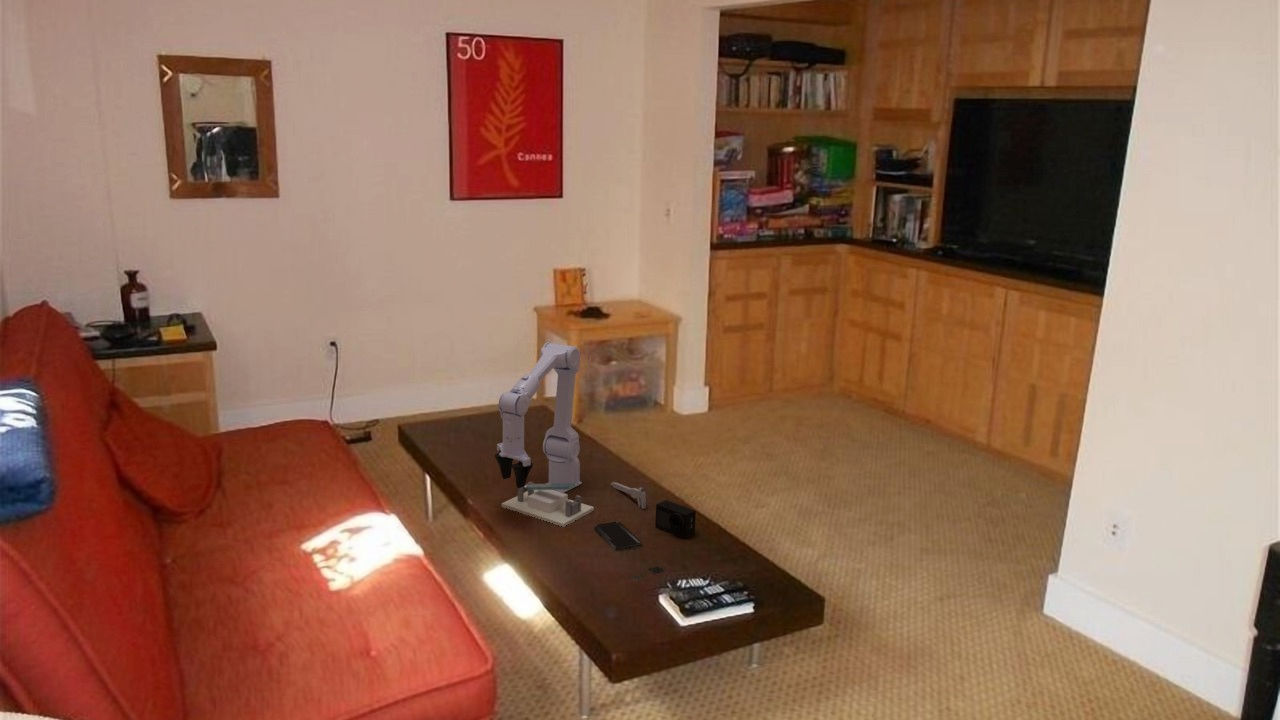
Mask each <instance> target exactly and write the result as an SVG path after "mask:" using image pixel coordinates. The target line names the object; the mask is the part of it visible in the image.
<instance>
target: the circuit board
mask: <svg viewBox="0 0 1280 720" xmlns="http://www.w3.org/2000/svg"><path fill="white" fill-rule="evenodd" d="M647 570H648V571H649V572H651V573H652V574H654V575H657V574H660V573H663V572H665V570H664V569H662V567H660V566H658V565H657V566H653V567H650V568H647ZM630 577H631V578H633V580H639V579H642V576H640V575H639V574H634V575H631V576H630Z"/></svg>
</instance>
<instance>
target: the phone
mask: <svg viewBox="0 0 1280 720" xmlns="http://www.w3.org/2000/svg"><path fill="white" fill-rule="evenodd" d="M594 531H595V532H596V533H598V535H599V536H600V537H601V538H602V539H603V540H604V541H605V542H606V543H607V544H608V545H609V546H610V547H611V548H612V549H613V550H614V551H617V552H623V551H626V550H631V549H637V548H641V547H642V546H643V545H642V544H643V541H641V540H640V539H639V538H638V537H637V536H636V535H635V534H634V533H633V532H632V531H630V530H629V528H627V527H626V526H625V525H624V524H623V523H622V522H621V521H613V522H611V521H610V522H607V523H601V524H596V525H594Z"/></svg>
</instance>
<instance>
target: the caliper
mask: <svg viewBox="0 0 1280 720" xmlns="http://www.w3.org/2000/svg"><path fill="white" fill-rule="evenodd" d="M609 485H610V486H611V487H612V486H613V489H616V490H618V491H622V492H624V493H626V494H628V495H631V498H633V499H637V500H636V501H637V505H638V508H639V509H640V508H641V510H645V509H646V508H647V506H646V505H647V496H646V492H645V488H644V487H639V488H635V487H629V486H626V485H623V484H621V483H619V482H616V481H614V482H610V484H609Z"/></svg>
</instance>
